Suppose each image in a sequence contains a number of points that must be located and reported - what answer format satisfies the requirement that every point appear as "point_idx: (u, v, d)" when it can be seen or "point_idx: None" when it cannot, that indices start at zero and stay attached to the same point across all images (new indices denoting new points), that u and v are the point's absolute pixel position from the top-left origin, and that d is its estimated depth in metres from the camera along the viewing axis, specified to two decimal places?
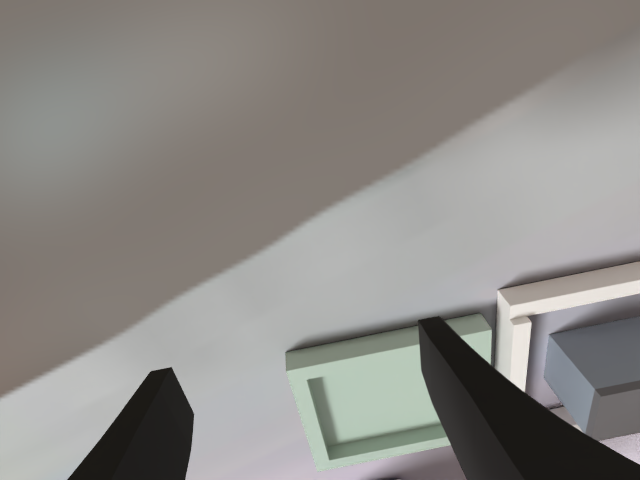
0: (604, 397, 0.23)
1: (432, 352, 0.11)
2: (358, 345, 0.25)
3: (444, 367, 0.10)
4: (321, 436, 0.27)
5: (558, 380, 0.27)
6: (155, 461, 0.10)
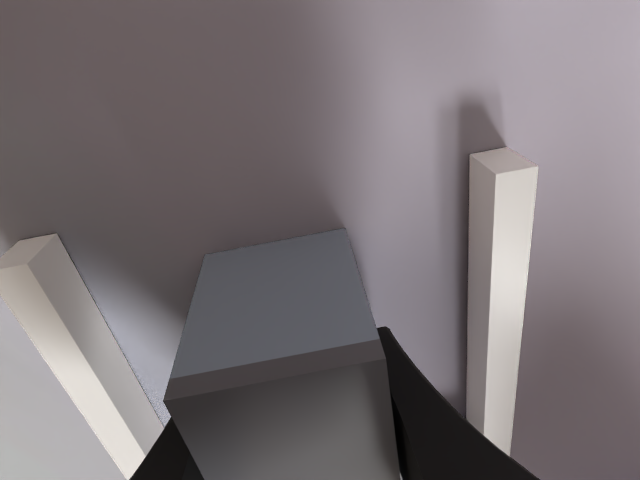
0: None
1: None
2: None
3: None
4: None
5: None
6: None
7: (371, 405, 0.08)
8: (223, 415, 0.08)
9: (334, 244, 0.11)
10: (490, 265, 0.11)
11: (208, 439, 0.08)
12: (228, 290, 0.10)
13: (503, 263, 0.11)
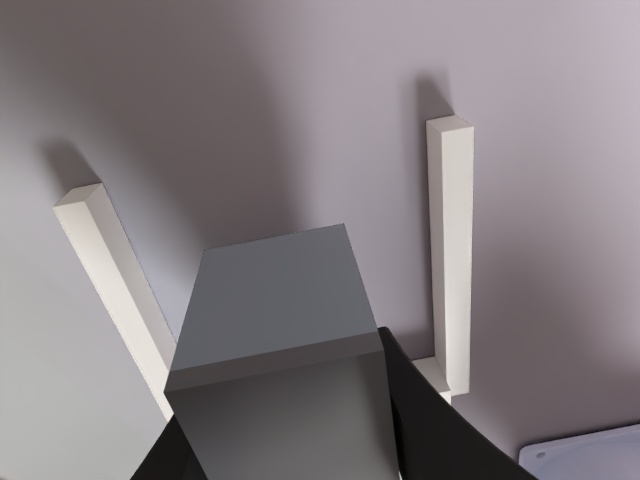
0: None
1: None
2: None
3: None
4: None
5: None
6: None
7: (370, 397, 0.08)
8: (222, 406, 0.08)
9: (333, 239, 0.11)
10: (442, 207, 0.14)
11: (208, 431, 0.08)
12: (227, 284, 0.10)
13: (452, 205, 0.14)
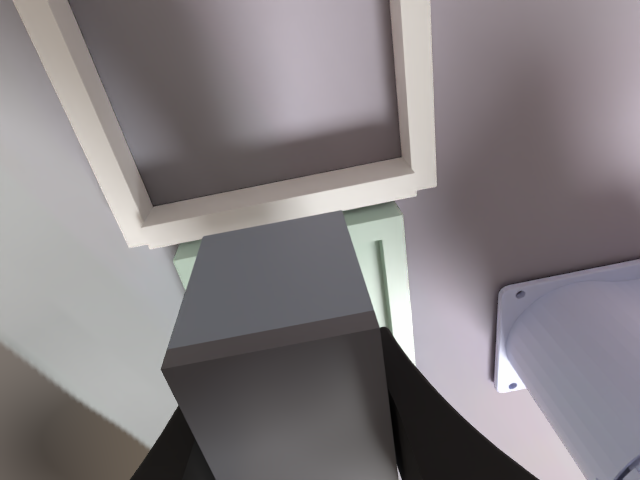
0: None
1: None
2: None
3: None
4: None
5: None
6: None
7: (365, 376, 0.08)
8: (219, 384, 0.08)
9: (331, 225, 0.11)
10: None
11: (205, 409, 0.08)
12: (225, 268, 0.10)
13: None
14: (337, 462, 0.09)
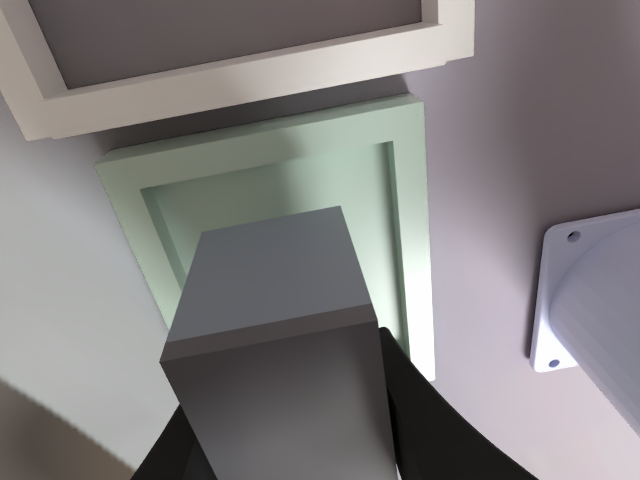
0: None
1: None
2: None
3: None
4: None
5: None
6: None
7: (364, 369, 0.08)
8: (218, 377, 0.08)
9: (329, 220, 0.11)
10: None
11: (204, 402, 0.08)
12: (224, 263, 0.10)
13: None
14: (336, 455, 0.09)
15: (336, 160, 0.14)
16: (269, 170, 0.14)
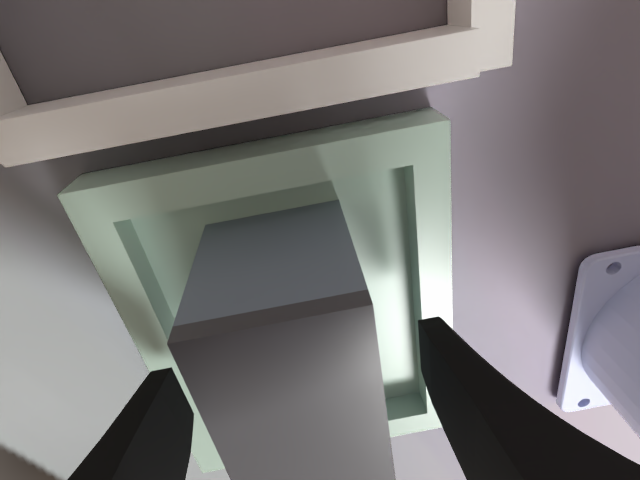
0: None
1: (432, 352, 0.11)
2: None
3: (444, 367, 0.10)
4: None
5: None
6: (156, 461, 0.10)
7: (360, 352, 0.09)
8: (222, 359, 0.08)
9: (328, 214, 0.12)
10: None
11: (208, 383, 0.09)
12: (227, 253, 0.11)
13: None
14: (334, 436, 0.10)
15: (345, 185, 0.12)
16: (267, 197, 0.12)
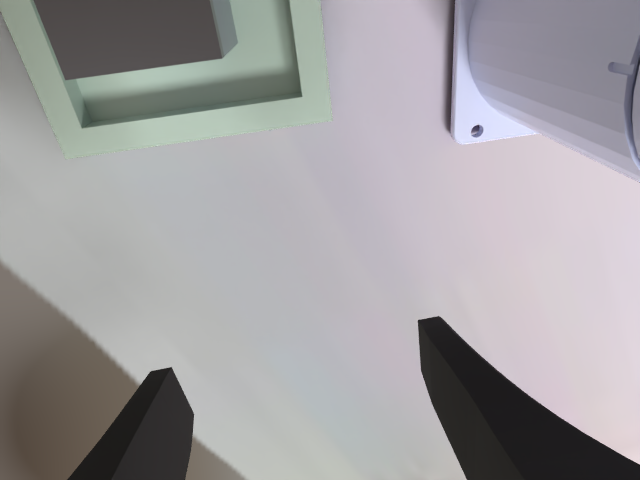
0: (68, 69, 0.11)
1: (432, 352, 0.11)
2: None
3: (444, 367, 0.10)
4: (231, 109, 0.15)
5: None
6: (156, 461, 0.10)
7: None
8: None
9: None
10: None
11: None
12: None
13: None
14: None
15: None
16: None
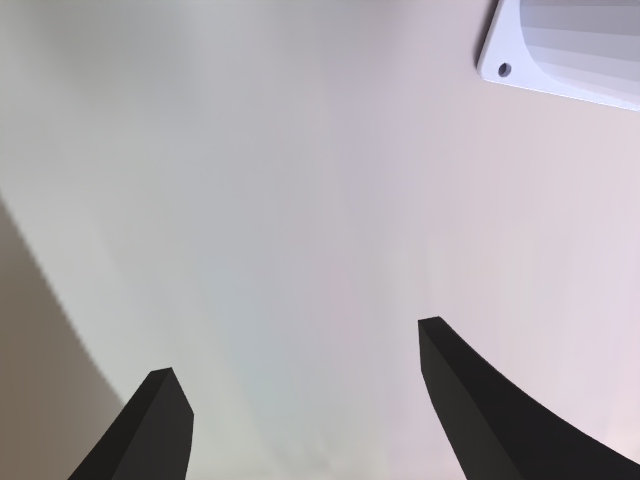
0: None
1: (432, 352, 0.11)
2: None
3: (444, 367, 0.10)
4: None
5: None
6: (156, 461, 0.10)
7: None
8: None
9: None
10: None
11: None
12: None
13: None
14: None
15: None
16: None
